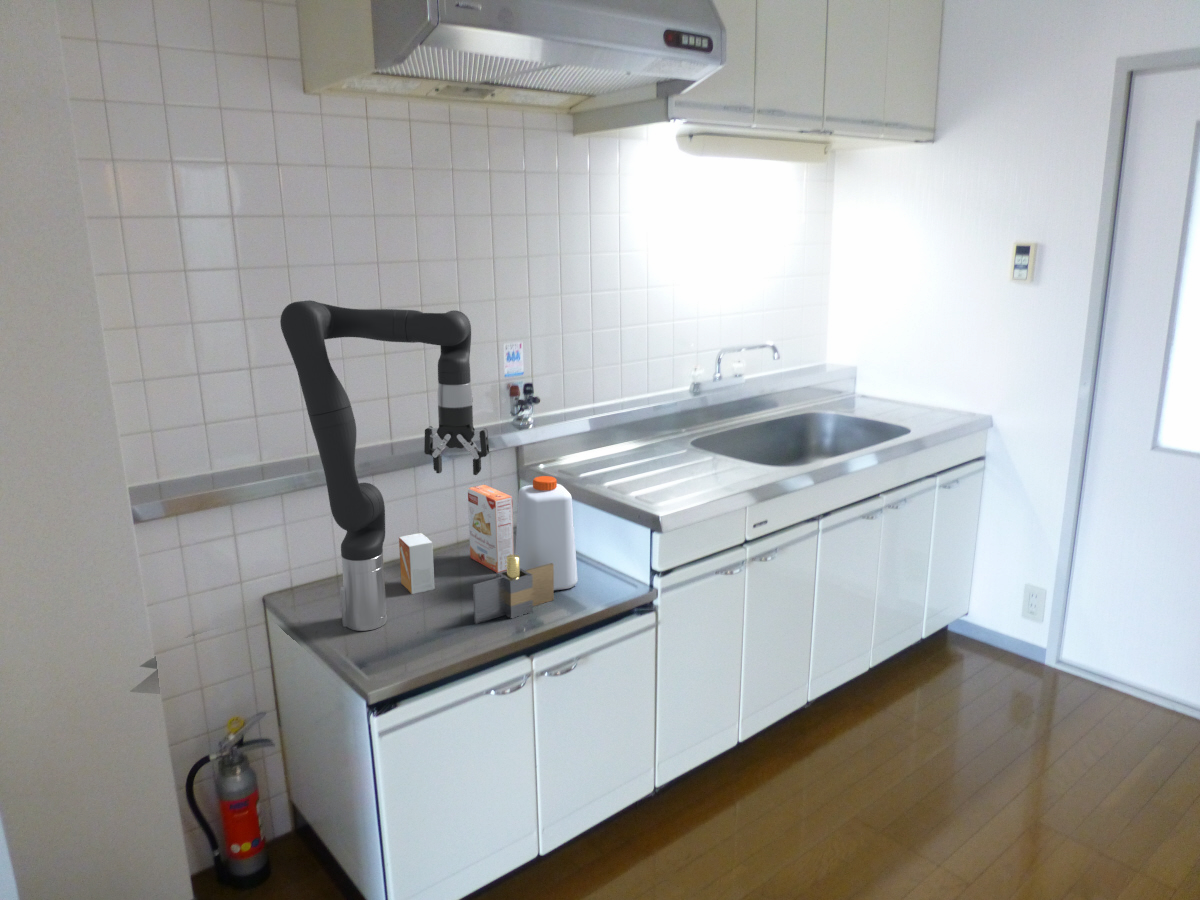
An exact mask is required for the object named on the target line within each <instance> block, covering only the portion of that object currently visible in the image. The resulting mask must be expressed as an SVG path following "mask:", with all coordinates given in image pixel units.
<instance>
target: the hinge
mask: <svg viewBox="0 0 1200 900" xmlns="http://www.w3.org/2000/svg"><path fill="white" fill-rule="evenodd" d="M554 592H555V590H554V569H553V563H550V564H546V565H542V566H539V567H535V568H532V569H528V570H523V569H521V568H520V577H518V578H514V579H510V578H508V577H507V570H506V571H502V572H498V573H496V577H495V578H493V579H492V578H491V579H489V580H484V581H481V582H477V583H474V584H472V594H473V595H472V596H473V598H472V599H473V620H474V621H473V623H474V624H476V625H477V624H481V623H483V622H487V621H490V620H493V619H495V618H500V617H504V616H506V617H508V618H509V619H511V618H512V619H514V617H516V618H518V617H517V616H519V617H521V616H520V615H522V616H524V615H523V614H525V615H528V614H531V613H530V612H532V613H534V607H536V606H538V605H542V604H546V603H549V602H552V601H554V599H555V598H554V595H555V594H554ZM527 613H528V614H527Z"/></svg>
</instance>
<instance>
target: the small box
mask: <svg viewBox="0 0 1200 900" xmlns="http://www.w3.org/2000/svg"><path fill="white" fill-rule="evenodd" d="M398 544H399V545H398V546H399V548H398V549H399V560H400V561H399V567H400V582H401V583H400V584H401V585H403V586H404V588H406V590H407V591H408V592H409V593H410V594H411V595H415V594H419V593H420V594H421V593H424V592H425V593H426V592H428V591H433V590H435V571H434V570H435V569H434V567H435V566H434V549H433V548H434V547H433V541H432V540H430V539H429V537H427V536H426V535H424V534H423V533H422V532H420V533H413V534H408V535H403V536H399V537H398Z"/></svg>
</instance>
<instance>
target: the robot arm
mask: <svg viewBox="0 0 1200 900" xmlns="http://www.w3.org/2000/svg"><path fill="white" fill-rule="evenodd" d="M279 322H280V328H281V332H282V335H283V339H284V340H285V343H286V345H287V347H288V350H289V353H290V356H291V358H292V360H293V364H294V366H295V368H296V372H297V375H298V379H299V383H300V388H301V391H302V395H303V399H304V401H305V405H306V411H307V415H308V417H309V418H308V419H309V422H310V425H311V429H312V433H313V435H314V439H315V441H316V442H315V443H316V445H317V448H318V449H317V450H318V454H319V457H320V461H321V464H322V468H323V472H324V476H325V482H326V488H327V493H328V494H327V495H328V501H329V507H330V510H331V514H332V517H333V519H334V521H335V523H336V524H337V526H338V527H340V528H341V529H342V530H345V532H346V534H345V535H344V538H343V540H342V542H341V544H340V553H341V554H340V556H341V568H342V583H343V585H341V587H340V591H339V593H340V602H341V603H340V604H341V605H340V606H341V619H342V627H344V628H348V629H350V630H353V631H358V632H359V631H360V632H362V631H372V630H377V629H379V628H381V627H383V626H385V624H386V623H387V622H388V617H387V615H388V613H387V601H386V600H387V599H386V583H385V568H384V567H385V564H384V548H383V546H384V542H385V538H386V508H385V507H386V506H385V505H386V504H385V501H384V496H383V494H382V492H381V491H380V490H379V488H377V486H375V485H374V484H372V483H370V482H369V483H368V482H359V479H358V476H357V471H356V466H355V465H356V463H355V462H356V460H355V458H356V447H357V445H356V444H357V424H356V418H355V415H354V411H353V408H352V404H351V401H350V399H349V395H348V394H347V392H346V390H345V387H343V385H342V383H341V381H340V379H339V378H338V376H337V374H336V373H335V370H334V369H333V367H332V365H331V362H330V359H329V356H328V352H327V347H326V342H325V340H331V339H340V338H341V339H342V338H360V339H361V338H362V339H367V340H374V341H381V342H387V343H388V342H389V343H392V342H393V343H407V344H408V343H411V344H414V343H422V344H427V345H432V346H433V345H434V346H440V355H439V358H438V361H437V413H438V428H437V427H433V426H430V425H429V426H428V427H427V428H425V430H424V446H423V447H424V448H423V449H424V451H423V452H424V454H425V455H426V456H427V455H429V456H431V458H432V462H433V464H432V465H433V467H432V468H433V471H434V472H435V473H436V474H441V473H442V472H443V463H442V462H443V461H442V460H443V459H442V455H441V454H442V452H443V451H444V450H445V449H446V447H447V448H448V449H454V448H456V449H464V448H465V450H466V451H467V452H468V453H469V454H470V455H471V456H472V457H473V459H472V474H473V476H478V475H479V473H480V472H481V470H482V458H485V457H487V456H488V454H490V442H489V434H488V433H489V432H488V429H487V428H485V427H484V428H482V429H475V428H474V416H473V415H474V412H473V411H474V410H473V408H474V407H473V401H474V397H473V391H472V390H473V389H472V385H471V384H472V382H471V381H472V380H471V365H470V364H471V363H470V355H471V345H472V326H471V321H470V319H469V317H468V316H467V315H466V314H465V313H464V312H463V311H461V310H460V311H459V310H450V311H449V310H448V311H447V312H439V313H438V312H422V311H421V310H413V309H395V308H394V309H389V308H387V309H386V308H381V309H380V308H377V309H374V308H372V309H371V308H369V309H365V308H362V309H361V308H350V307H341V306H336V305H330V304H326V303H322V302H318V301H315V300H310V299H309V300H300V301H299V300H298V301H294V302H291V303H289V304H288V305H286V306H285V308H284V309H283V310H282V311H281V315H280V321H279ZM436 435H437V436H438V437H439V438H440V440H441V441H440V442H439V444H438V445H437V446H436V448H434V438H435V437H436ZM475 436H476V437H477V439H478V440H479V442H480V449H479V448H478V446H477V444H476V442H474V440H473V438H474V437H475Z"/></svg>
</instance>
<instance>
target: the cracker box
mask: <svg viewBox="0 0 1200 900" xmlns="http://www.w3.org/2000/svg"><path fill="white" fill-rule="evenodd" d="M513 503H514V502H513V496H512V495H511V494H510V495H509V494H507V493H505V492H502V491H500V490H498V489H495V488H493V487H491V486H489V485H486V484H481V485H477V486H471V487H468V488H467V504H468V505H467V506H468V529H469V553H470V554H469V556H470V557H469V558H470V559H472V560H474V561H475V562H477V563H478V564H480V565H482V566H484V567H485V568H488V569H489V570H491V571H492V572H495V574H497V573H498V572H502V571H506V570H507V556H508V555H515V552H514V549H515V548H514V546H515V545H514V516H513V515H514V514H513V512H514V511H513Z"/></svg>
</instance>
